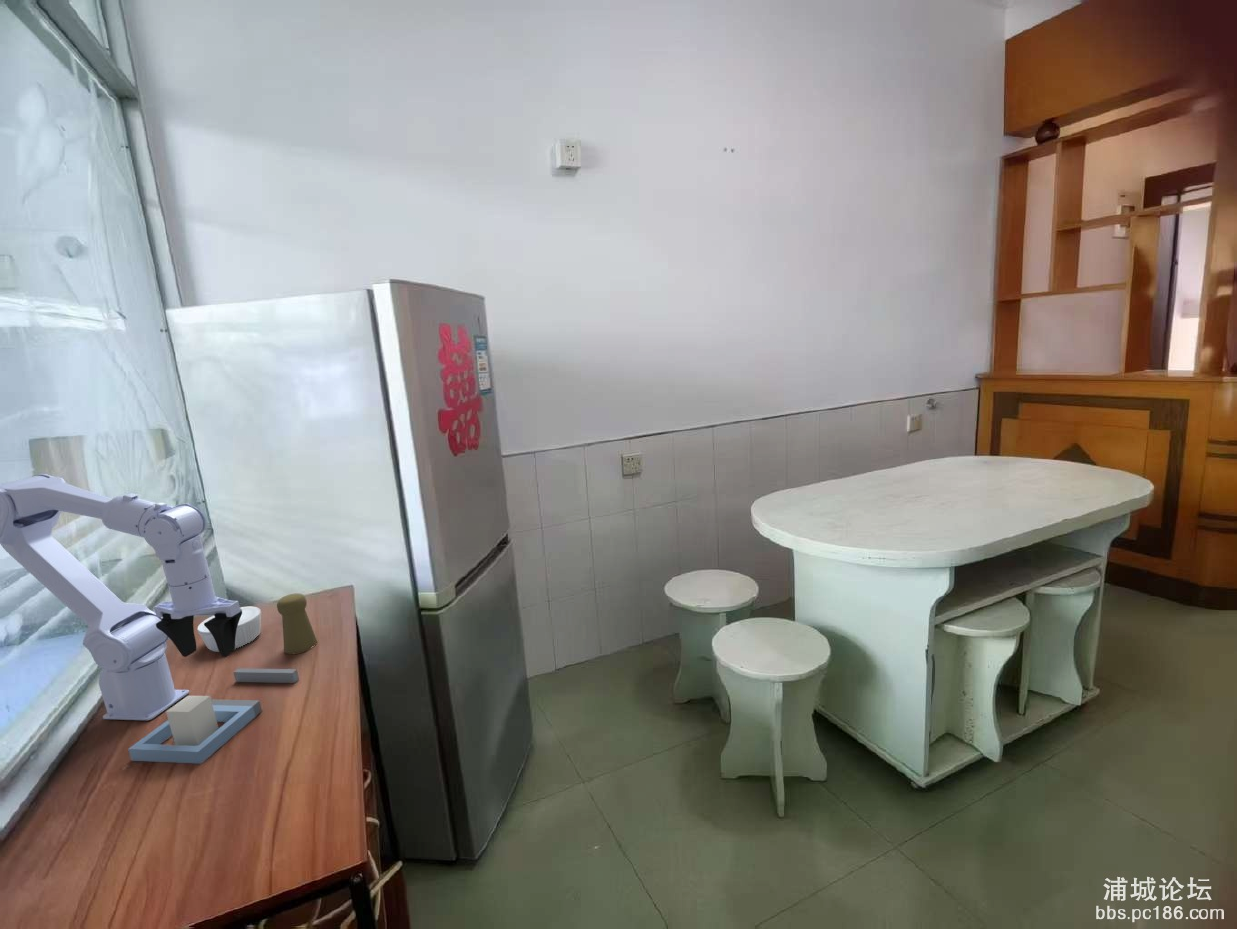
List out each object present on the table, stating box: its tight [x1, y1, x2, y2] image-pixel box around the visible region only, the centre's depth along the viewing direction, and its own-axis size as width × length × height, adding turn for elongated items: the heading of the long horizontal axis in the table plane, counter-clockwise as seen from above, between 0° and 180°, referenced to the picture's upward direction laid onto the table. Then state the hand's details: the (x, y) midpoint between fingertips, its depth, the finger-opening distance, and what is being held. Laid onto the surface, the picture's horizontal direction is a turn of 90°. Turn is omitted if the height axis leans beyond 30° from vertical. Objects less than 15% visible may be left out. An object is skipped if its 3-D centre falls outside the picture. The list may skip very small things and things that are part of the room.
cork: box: [276, 593, 318, 655], centre depth 117 cm, size 6×6×11 cm
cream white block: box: [165, 695, 220, 746], centre depth 91 cm, size 4×4×6 cm
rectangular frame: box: [128, 667, 300, 764], centre depth 97 cm, size 12×21×2 cm, turn 171°
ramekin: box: [196, 605, 262, 653], centre depth 122 cm, size 11×11×5 cm
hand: (209, 653), depth 99 cm, fingers open, 7 cm apart
